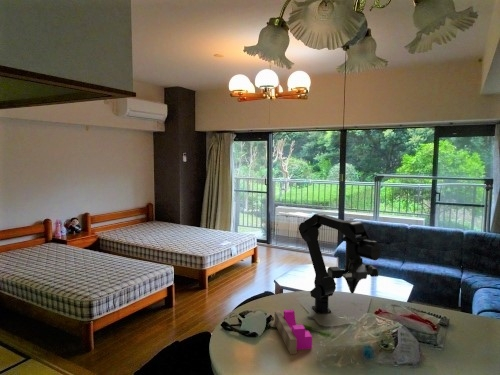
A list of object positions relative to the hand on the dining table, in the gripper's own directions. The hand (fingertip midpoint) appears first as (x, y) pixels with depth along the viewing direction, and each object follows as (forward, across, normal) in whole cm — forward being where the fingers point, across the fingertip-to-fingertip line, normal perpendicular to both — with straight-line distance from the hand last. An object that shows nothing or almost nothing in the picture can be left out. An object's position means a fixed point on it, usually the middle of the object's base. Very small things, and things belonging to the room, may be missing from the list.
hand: (352, 292), depth 132 cm
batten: (+13, -28, -6) cm, 32 cm away
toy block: (+13, -24, -7) cm, 28 cm away
